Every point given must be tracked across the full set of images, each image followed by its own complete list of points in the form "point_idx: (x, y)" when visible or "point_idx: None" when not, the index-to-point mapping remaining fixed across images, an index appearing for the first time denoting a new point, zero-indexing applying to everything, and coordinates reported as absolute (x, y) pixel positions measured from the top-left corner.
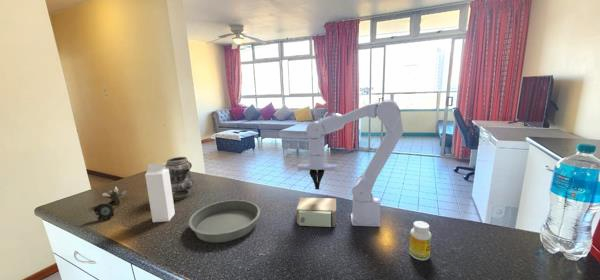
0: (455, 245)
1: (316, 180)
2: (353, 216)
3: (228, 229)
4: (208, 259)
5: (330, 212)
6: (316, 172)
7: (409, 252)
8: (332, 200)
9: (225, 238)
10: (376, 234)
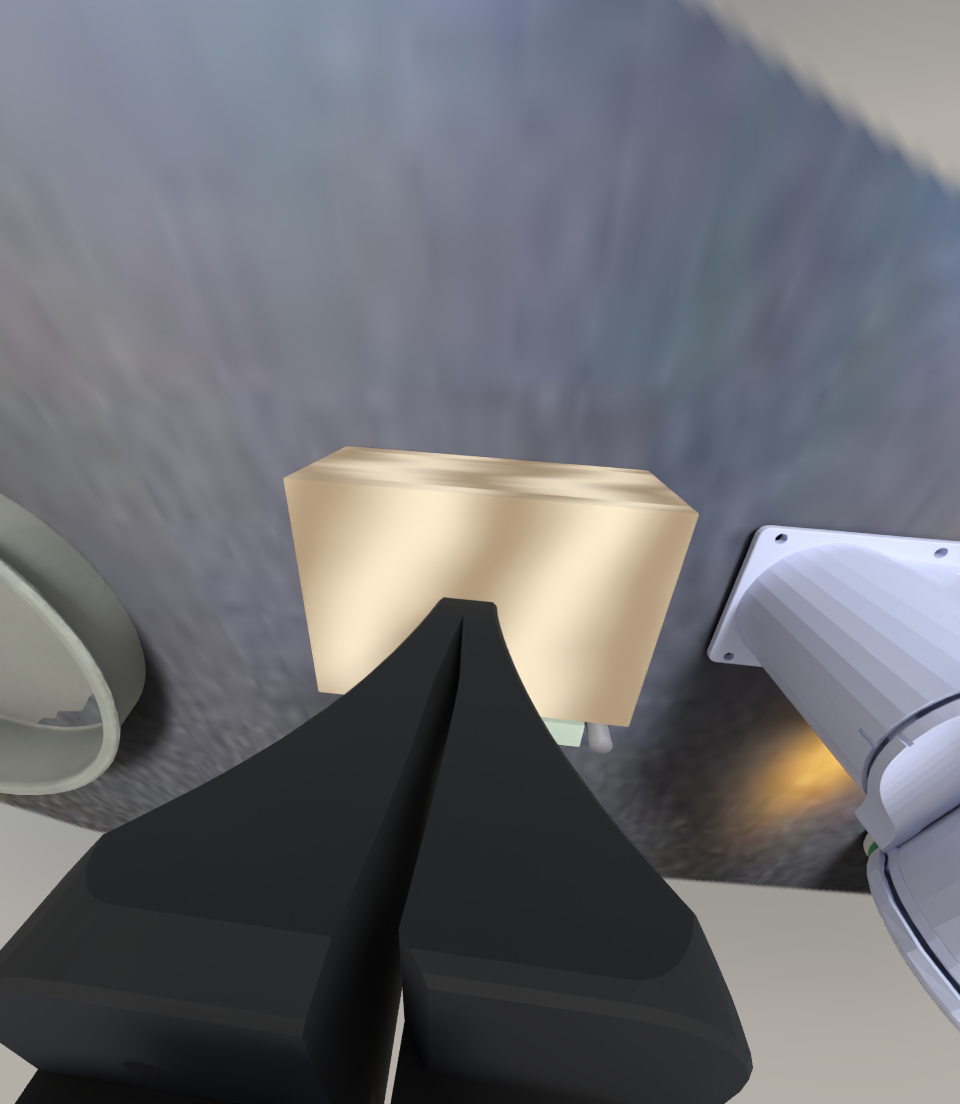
0: None
1: (428, 812)
2: (753, 643)
3: (29, 653)
4: (121, 797)
5: (579, 733)
6: (373, 1050)
7: (870, 838)
8: (643, 559)
9: (83, 745)
10: (807, 725)
